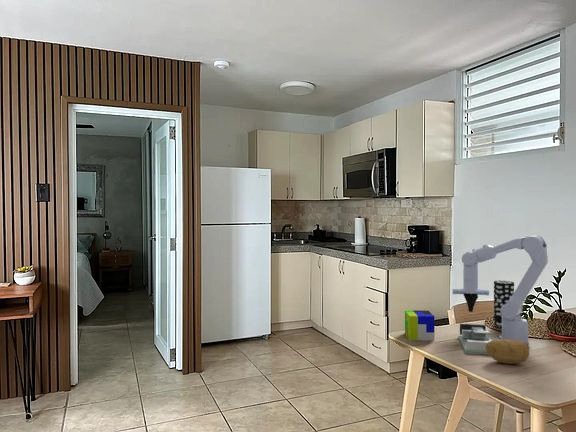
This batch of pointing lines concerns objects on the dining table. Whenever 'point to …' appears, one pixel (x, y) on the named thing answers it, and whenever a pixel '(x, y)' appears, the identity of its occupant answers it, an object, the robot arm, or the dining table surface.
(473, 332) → the steel block
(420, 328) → the puzzle toy
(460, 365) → the dining table surface
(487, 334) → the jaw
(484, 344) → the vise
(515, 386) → the dining table surface
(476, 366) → the dining table surface
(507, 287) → the white-spotted black cylinder
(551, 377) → the dining table surface
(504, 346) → the potato
